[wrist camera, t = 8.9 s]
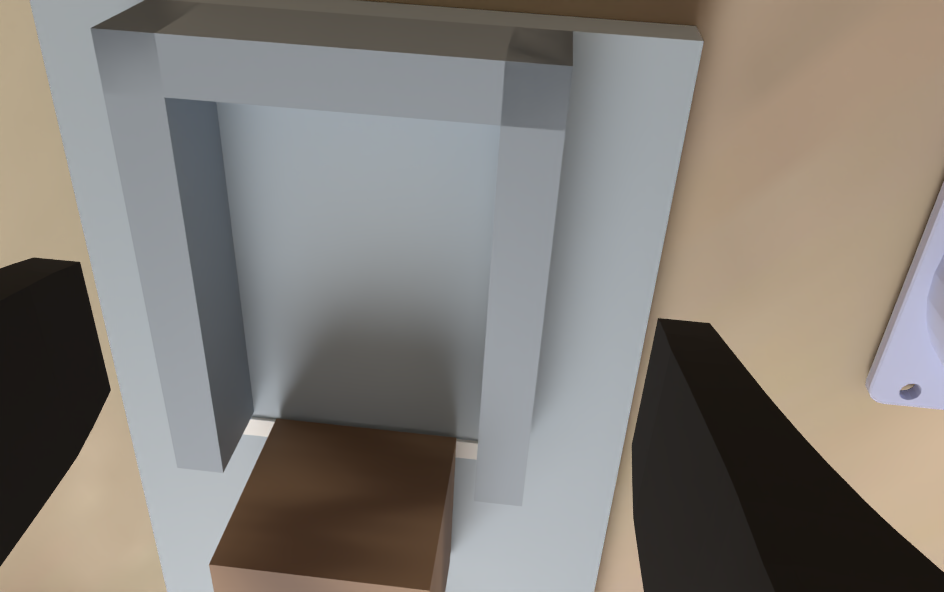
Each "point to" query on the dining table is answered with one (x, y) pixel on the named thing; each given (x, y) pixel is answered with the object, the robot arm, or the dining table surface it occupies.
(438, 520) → the brown block on rod
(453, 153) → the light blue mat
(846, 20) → the dining table surface
